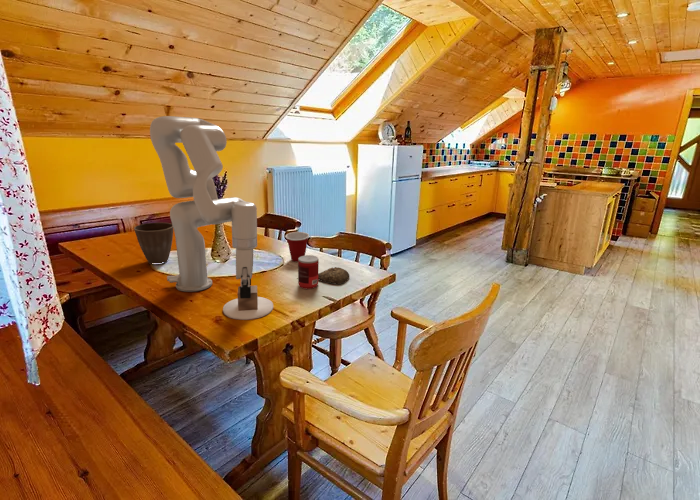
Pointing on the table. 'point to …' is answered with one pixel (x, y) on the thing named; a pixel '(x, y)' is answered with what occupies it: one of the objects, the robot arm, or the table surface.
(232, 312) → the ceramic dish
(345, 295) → the table surface
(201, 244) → the robot arm
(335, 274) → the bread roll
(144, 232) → the plant pot
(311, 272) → the canned food
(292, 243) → the plastic cup
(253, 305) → the walnut block
